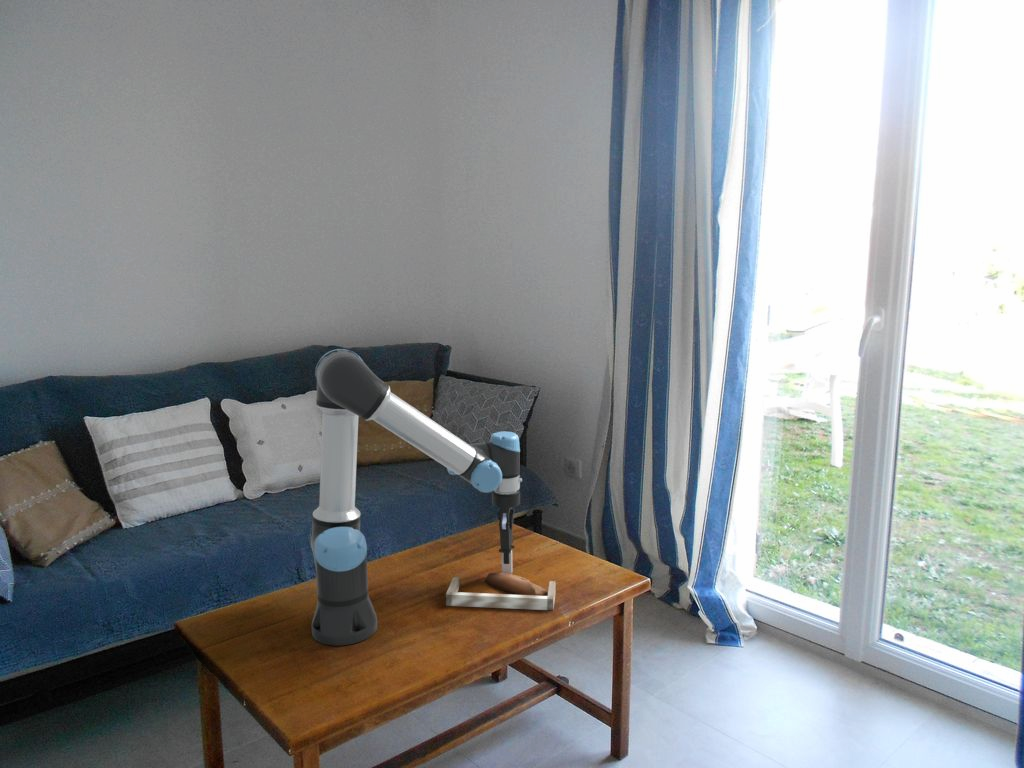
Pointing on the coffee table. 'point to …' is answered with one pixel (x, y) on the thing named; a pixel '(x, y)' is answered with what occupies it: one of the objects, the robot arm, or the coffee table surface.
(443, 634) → the coffee table surface
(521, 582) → the sunglasses case
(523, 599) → the bracket
